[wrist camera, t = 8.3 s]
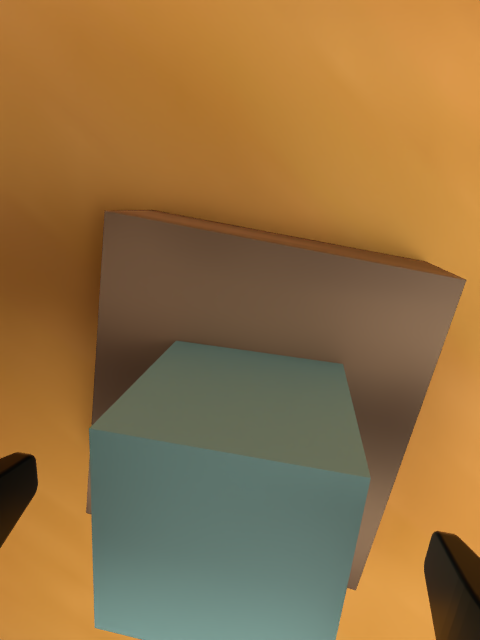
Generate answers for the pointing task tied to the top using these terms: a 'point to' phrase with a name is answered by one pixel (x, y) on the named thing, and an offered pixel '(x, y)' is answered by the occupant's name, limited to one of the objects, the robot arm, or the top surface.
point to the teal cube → (226, 498)
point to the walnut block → (277, 321)
